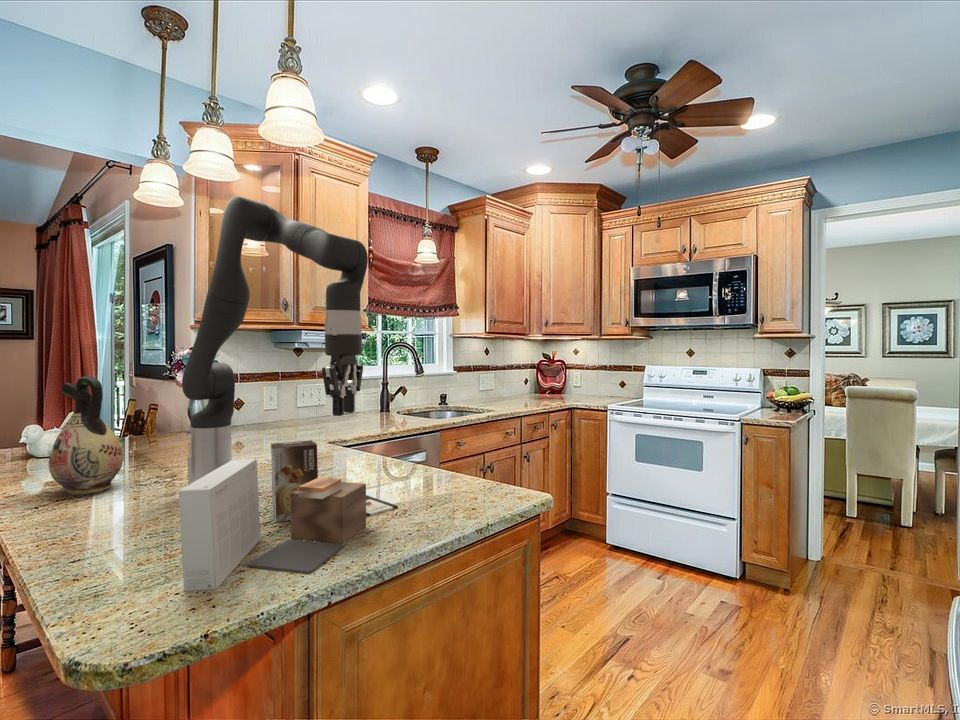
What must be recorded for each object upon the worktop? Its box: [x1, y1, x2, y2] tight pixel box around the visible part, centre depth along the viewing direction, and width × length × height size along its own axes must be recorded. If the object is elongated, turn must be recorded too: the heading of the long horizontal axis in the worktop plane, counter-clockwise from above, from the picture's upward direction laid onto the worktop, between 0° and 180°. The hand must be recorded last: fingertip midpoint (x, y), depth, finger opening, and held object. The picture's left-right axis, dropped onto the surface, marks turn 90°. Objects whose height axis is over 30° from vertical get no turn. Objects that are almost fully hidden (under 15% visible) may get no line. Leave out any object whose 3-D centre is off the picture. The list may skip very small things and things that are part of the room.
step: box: [290, 481, 367, 545], centre depth 105 cm, size 11×10×9 cm
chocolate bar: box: [366, 494, 399, 517], centre depth 124 cm, size 9×1×18 cm
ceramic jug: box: [48, 375, 124, 496], centre depth 135 cm, size 17×15×30 cm
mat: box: [245, 538, 346, 575], centre depth 93 cm, size 12×12×1 cm
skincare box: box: [178, 458, 262, 592], centre depth 90 cm, size 21×5×16 cm, turn 5°
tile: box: [299, 477, 342, 499], centre depth 101 cm, size 5×7×2 cm
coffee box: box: [270, 440, 319, 523], centre depth 116 cm, size 9×6×16 cm
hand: (343, 413), depth 110 cm, fingers open, 4 cm apart
